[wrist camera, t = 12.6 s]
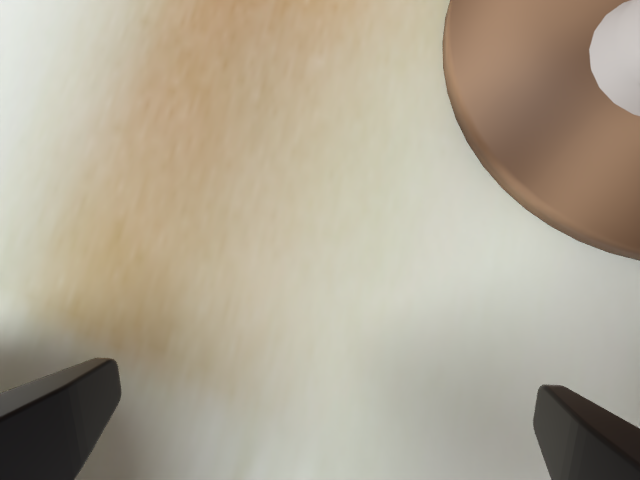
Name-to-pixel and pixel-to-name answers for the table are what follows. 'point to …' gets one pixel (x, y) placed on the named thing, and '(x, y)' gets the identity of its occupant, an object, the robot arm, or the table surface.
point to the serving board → (546, 115)
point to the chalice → (619, 56)
